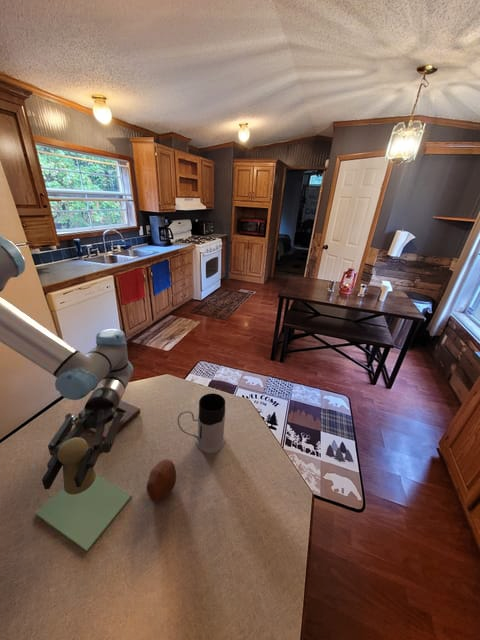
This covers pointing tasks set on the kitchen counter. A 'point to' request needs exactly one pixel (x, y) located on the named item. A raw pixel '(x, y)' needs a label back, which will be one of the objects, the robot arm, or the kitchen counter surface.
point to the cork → (74, 465)
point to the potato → (161, 480)
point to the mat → (84, 511)
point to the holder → (129, 416)
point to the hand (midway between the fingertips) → (61, 483)
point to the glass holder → (209, 423)
